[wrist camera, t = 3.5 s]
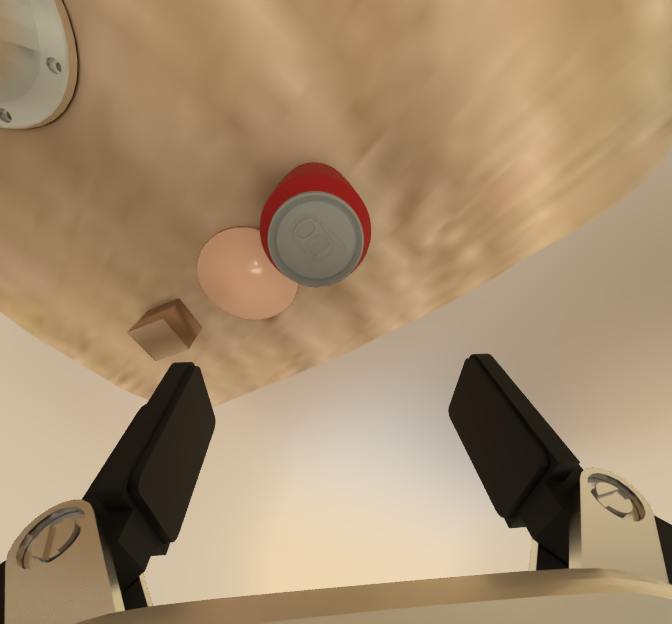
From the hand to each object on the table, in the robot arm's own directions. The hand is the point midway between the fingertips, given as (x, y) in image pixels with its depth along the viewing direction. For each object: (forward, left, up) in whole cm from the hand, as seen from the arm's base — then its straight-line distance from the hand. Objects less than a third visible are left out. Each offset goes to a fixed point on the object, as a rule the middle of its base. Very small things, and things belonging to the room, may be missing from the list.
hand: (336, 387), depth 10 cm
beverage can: (-3, -1, -20) cm, 20 cm away
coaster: (+4, -7, -20) cm, 22 cm away
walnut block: (+9, -17, -20) cm, 28 cm away
